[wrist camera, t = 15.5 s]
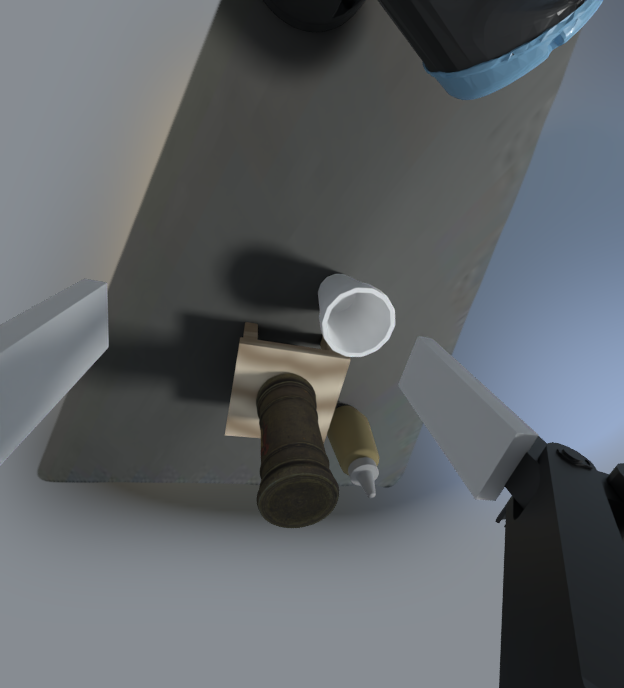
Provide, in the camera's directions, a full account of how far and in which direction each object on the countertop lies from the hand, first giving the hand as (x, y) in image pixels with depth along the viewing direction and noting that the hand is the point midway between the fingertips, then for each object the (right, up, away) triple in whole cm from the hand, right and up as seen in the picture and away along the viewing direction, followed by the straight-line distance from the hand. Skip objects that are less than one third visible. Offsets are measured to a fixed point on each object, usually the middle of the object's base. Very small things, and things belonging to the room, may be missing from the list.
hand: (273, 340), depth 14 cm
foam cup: (+6, +8, +38) cm, 40 cm away
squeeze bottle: (+8, -14, +50) cm, 53 cm away
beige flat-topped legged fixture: (-4, -4, +43) cm, 43 cm away
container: (-2, -8, +35) cm, 36 cm away
